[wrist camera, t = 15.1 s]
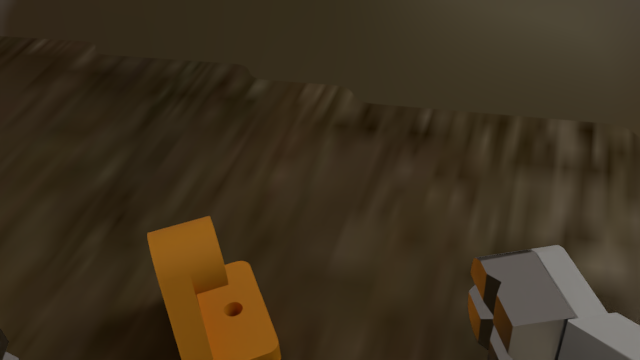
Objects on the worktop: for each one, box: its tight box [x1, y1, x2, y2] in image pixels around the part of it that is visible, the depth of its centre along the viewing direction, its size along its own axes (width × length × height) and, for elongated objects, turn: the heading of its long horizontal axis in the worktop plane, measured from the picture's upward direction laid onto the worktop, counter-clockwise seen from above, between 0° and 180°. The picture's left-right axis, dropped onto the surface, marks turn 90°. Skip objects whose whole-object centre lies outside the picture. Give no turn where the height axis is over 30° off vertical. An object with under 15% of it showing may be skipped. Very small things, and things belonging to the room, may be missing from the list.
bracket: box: [147, 216, 281, 360], centre depth 47 cm, size 11×7×12 cm, turn 20°
